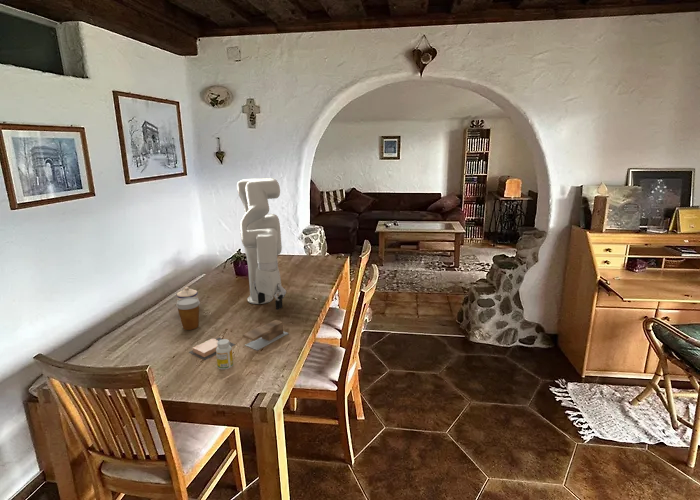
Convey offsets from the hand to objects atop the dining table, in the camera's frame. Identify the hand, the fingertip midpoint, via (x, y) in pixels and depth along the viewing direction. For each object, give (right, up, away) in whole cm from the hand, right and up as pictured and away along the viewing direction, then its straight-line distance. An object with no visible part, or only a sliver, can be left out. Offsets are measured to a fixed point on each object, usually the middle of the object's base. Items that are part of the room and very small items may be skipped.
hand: (270, 305), depth 163 cm
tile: (-19, -14, -4) cm, 24 cm away
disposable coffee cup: (-37, -11, +13) cm, 40 cm away
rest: (-1, -14, +1) cm, 14 cm away
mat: (-21, -16, -6) cm, 27 cm away
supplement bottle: (-12, -19, -18) cm, 29 cm away
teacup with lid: (-43, -6, +30) cm, 53 cm away
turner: (-2, -14, 0) cm, 14 cm away
